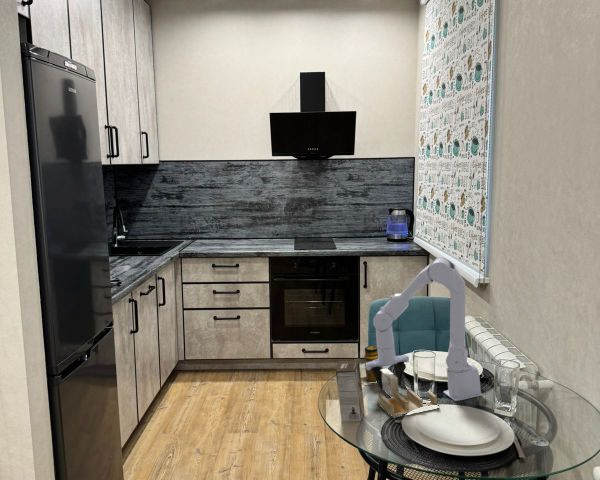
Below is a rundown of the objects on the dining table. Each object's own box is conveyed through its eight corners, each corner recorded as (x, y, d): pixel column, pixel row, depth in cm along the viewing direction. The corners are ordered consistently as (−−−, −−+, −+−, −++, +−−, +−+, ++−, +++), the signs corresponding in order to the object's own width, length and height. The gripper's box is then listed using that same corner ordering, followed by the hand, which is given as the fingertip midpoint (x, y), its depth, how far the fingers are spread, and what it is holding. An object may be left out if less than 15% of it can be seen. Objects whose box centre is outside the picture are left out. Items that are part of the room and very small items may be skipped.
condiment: (387, 381, 196) (384, 348, 195) (364, 385, 194) (361, 352, 193) (380, 374, 203) (377, 342, 202) (358, 378, 201) (354, 346, 200)
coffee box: (344, 409, 177) (339, 360, 175) (364, 408, 176) (359, 359, 174) (340, 422, 168) (335, 370, 166) (362, 421, 167) (356, 370, 165)
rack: (422, 394, 181) (421, 383, 181) (439, 408, 170) (438, 397, 169) (378, 403, 178) (377, 392, 178) (393, 418, 166) (391, 406, 166)
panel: (388, 388, 190) (386, 368, 189) (399, 397, 181) (397, 377, 180) (381, 389, 189) (379, 369, 189) (392, 399, 181) (390, 378, 180)
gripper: (401, 339, 189) (404, 378, 190) (360, 347, 186) (364, 386, 187) (410, 345, 182) (413, 385, 184) (368, 353, 179) (372, 393, 181)
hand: (389, 386), depth 185 cm, fingers open, 6 cm apart
